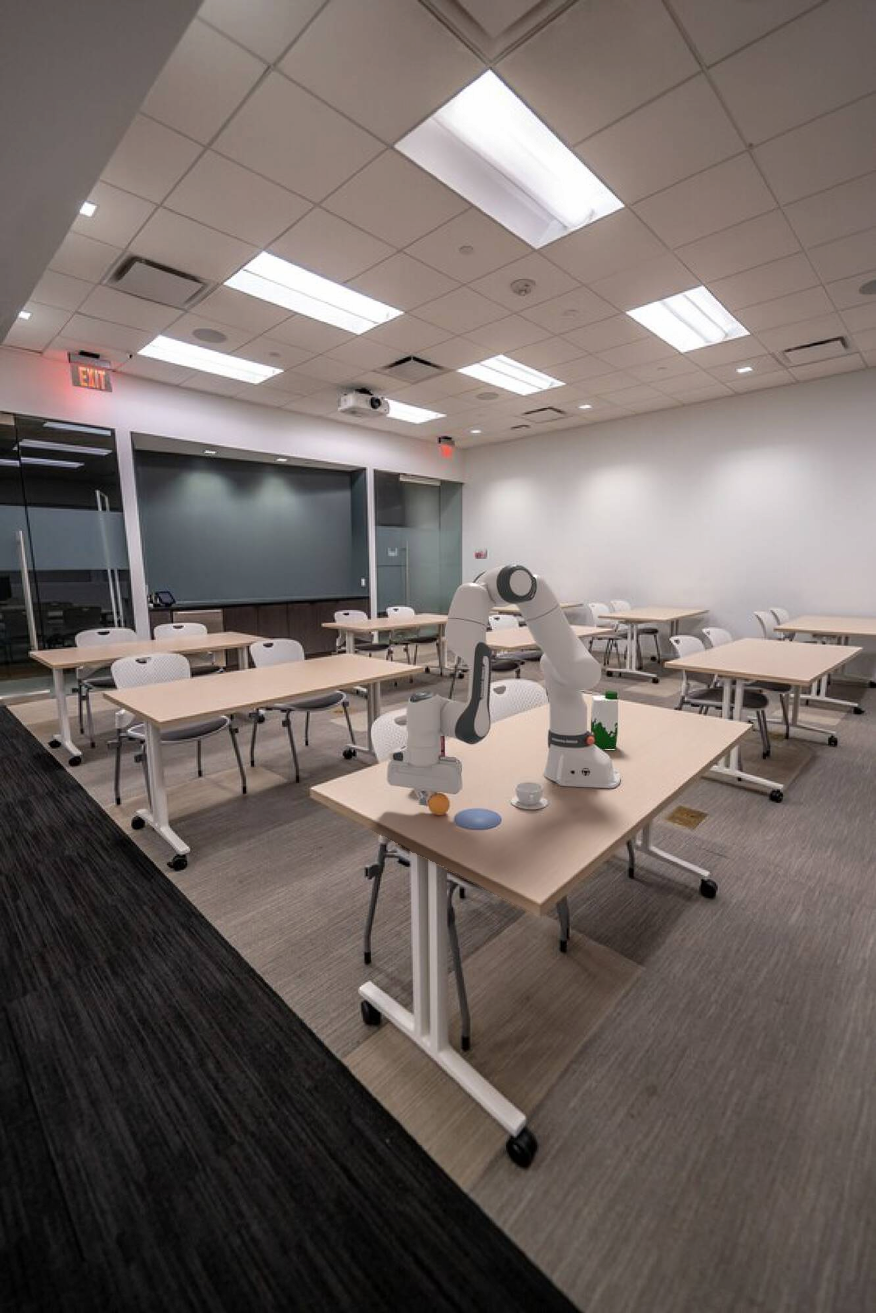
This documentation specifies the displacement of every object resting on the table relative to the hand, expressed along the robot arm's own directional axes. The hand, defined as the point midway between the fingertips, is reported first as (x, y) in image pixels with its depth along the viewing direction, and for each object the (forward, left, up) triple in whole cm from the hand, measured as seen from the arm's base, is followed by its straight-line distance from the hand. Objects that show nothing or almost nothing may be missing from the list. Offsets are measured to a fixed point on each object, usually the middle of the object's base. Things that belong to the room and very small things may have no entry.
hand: (424, 804), depth 143 cm
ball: (-4, 0, +1) cm, 4 cm away
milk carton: (-39, -70, -2) cm, 81 cm away
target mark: (-14, 0, -2) cm, 15 cm away
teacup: (-25, -15, -2) cm, 29 cm away
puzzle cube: (+14, -38, -2) cm, 41 cm away
